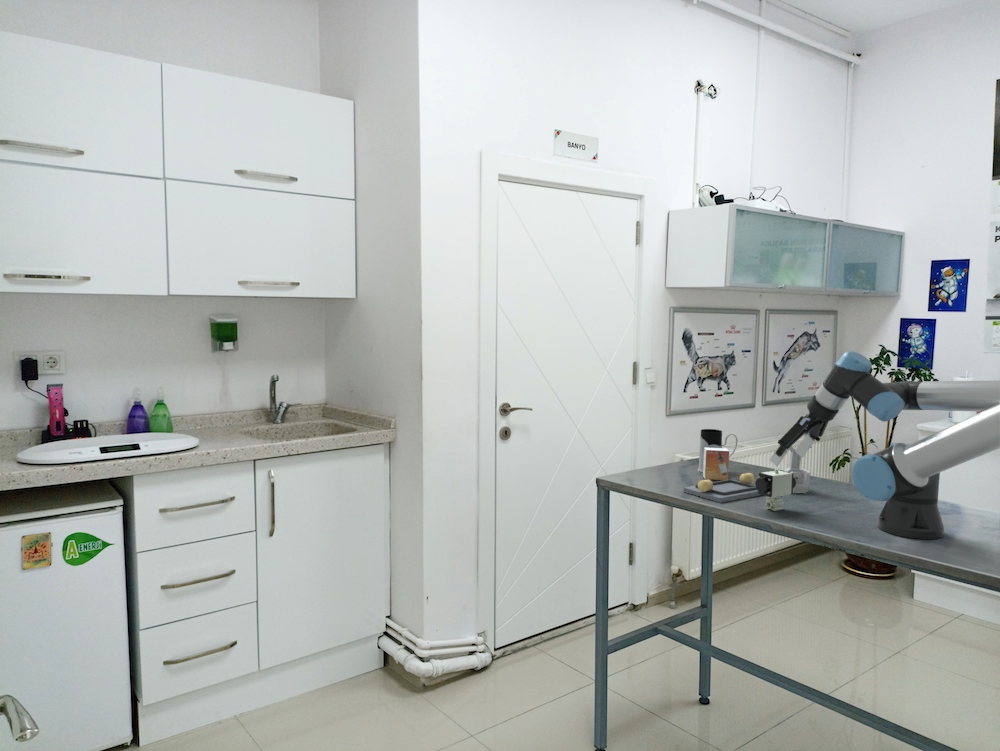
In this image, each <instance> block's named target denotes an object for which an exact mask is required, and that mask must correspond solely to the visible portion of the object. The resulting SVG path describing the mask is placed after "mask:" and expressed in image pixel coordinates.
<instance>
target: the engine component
mask: <svg viewBox="0 0 1000 751" xmlns="http://www.w3.org/2000/svg"><path fill="white" fill-rule="evenodd" d="M806 435H809V433H808V434H804V435H803V436H804V437H805V436H806ZM809 436H810V435H809ZM792 446H793V445H792ZM792 446H791V447H790V448H789V449H790V450H789V451H790V453H789V460H788V467H787V468H785V469H784V470H783V471H786V472H790V473H793V474H794V475H793V476H794V478H795V480H796V486H795V488H793V494H794V493H804V494H807V493H806V492H808V491H809V492H810V474H811V472H810V471H809V470H808V469H804V468H801V462H802V461H801V460H802V457H801V456H800V455H799V454H797V453H796V452H795V450H796V449H797V448H793V447H792ZM811 448H812V446H811V447H810V448H809V449H811ZM777 469H778V471H780V469H779V468H777ZM809 492H808V493H809Z"/></svg>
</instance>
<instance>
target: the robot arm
mask: <svg viewBox="0 0 1000 751" xmlns="http://www.w3.org/2000/svg"><path fill="white" fill-rule="evenodd" d="M871 368H872V362H871V361H870V360H869V358H868V357H866V356H864V355H863V354H862V353H860V352H855V351H849V350H848V351H845V352H844V353H843V354H842V355H841V356H840V358H839V359H838V360H837V361H836V362H835V365H834V366H833V367H832V369H831V371H830V372H829V373H828V375H827V376H826V378H825V379H824V380H823V382H821V383H819V384H818V386H819V387H818V389H817V390H816V392H815V394H814V395H813V396H812V397H811V399H810V400H809V402H807V405H806V407H807V411H808V414H806V415H805V416H800V417H799V418H798V420H797V421H796V422H795V423H794V425H792V426H791V428H790V429H788V431H787V432H786V433H785V434H784V435H783V436H782V437H781V438H780V439H778V441H777V444H778V447H777V448H776V450H774V452H773V454H772V455H771V456H770V458H769V461H770V462H771V463H772V464H773V465H775V467H778V466H779V465H780V464H781V462H782V461H783V460H784V458H785V457H786V456H787V454H788V453H789V451H790V449H789V448H790V447H791V446H793V445H794V444H795V443H797V442H798V441H799V440H800V439H801V438H802V437H803V436H804V434H808V433H809V435H810V436H809V435H806V436H804V438H803V439H802V440H801V442H800V443H799V444H798V446H797V447H796V448H795V449H796V450H795V452H796V453H797V454H799V455H800V456H801V458H804V456H806V454H807V453H808V452H809V450H810V449H811V448H812V446H813V444H814V443H815V441H817V442H819V441H820V440H821V437H822V436H823V435H824V433H825V430H826V428H827V426H828V424H829V422H830V421H832V420H834V419H835V417H836V416H837V414H838V413H839V411H840V410H841V409H842V408H843V406H844V405H845V404H846V403H847V401H848V400H849V398H852V399H853V400H855V401H856V402H857V403H858V404H859V405H860V406H862V407H863V408H864V409H865V410H866V411H867V412H868V413H869V414H870V415H872V416H874V417H875V418H876V419H878V420H879V421H880V422H883V423H884V422H889V421H891V420H893V419H895V418H896V417H898V415H900V413H901V412H902V411H942V412H943V411H945V412H946V411H949V412H978V413H976V414H974V415H972V416H970V417H967V418H965V419H963V420H961V421H958V422H956V423H953V425H950V426H948V427H945V428H944V429H941V430H939V431H936V432H935V433H934V432H933V433H932V434H930V435H928V436H926V437H924V438H922V439H919V440H917V441H915V442H913V443H910V444H909V443H903V442H892V443H891V444H890V446H889V447H886V448H884V449H882V450H879V451H877V452H875V453H868V454H867V453H866V454H864V455H862V456H861V457H859V458H857V460H856V461H855V462H854V463H853V467H852V471H851V476H852V482H853V484H854V487H855V488H856V490H857V491H858V492H859V494H861V495H862V496H863V497H864V498H866V499H868V500H871V501H875V502H885V503H884V504H883V507H882V509H881V512H880V513H879V516H878V519H877V520H878V522H877V527H878V528H879V530H881V531H882V532H883V531H884V532H886V533H888V534H892V535H895V536H900V537H902V538H903V537H904V538H911V539H920V540H921V539H922V540H935V539H936V540H937V539H941V538H943V537H944V534H945V526H944V522H943V520H942V519H943V518H942V516H941V513H940V510H939V506H938V504H939V501H938V500H939V488H940V474H941V473H942V472H945V471H946V470H950V469H953V468H954V467H957V466H959V465H962V464H964V463H967V462H969V461H971V460H974V459H977V458H980V457H981V456H983V455H986V454H988V453H991V452H994V451H996V450H998V449H1000V380H998V379H997V380H935V381H934V380H931V381H930V380H929V381H927V380H926V381H925V380H923V381H919V380H917V381H914V380H903V381H897V382H895V381H893V382H892V381H891V382H882V381H880V380H879V379H877V378H876V377H875V376H874V375H872V373H870V371H871ZM810 447H811V448H810Z"/></svg>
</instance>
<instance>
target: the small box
mask: <svg viewBox="0 0 1000 751" xmlns="http://www.w3.org/2000/svg"><path fill="white" fill-rule="evenodd" d="M729 455H730V450H729V449H728V448H726V447H722V448H707V447H704V465H703V473H702V476H703V479H704V480H708V479H709V480H716V481H723V480H729V468H730V467H729V465H730V457H729Z"/></svg>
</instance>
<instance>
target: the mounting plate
mask: <svg viewBox="0 0 1000 751" xmlns="http://www.w3.org/2000/svg"><path fill="white" fill-rule="evenodd" d="M755 482H756V477H755V476H754V474H753V473H751V472H745V473H742V474H740V475H739V480H735V479H728V480H716V481H712V479H704V480H703V479H702V480H699V481H698V482H697V484H695V485H690V486H684V487H683V493H685V492H686V494H688V493H689V495H692V494H693V495H692V496H695V495H696V497H698V496H700V497H699V498H702V497H703V498H702V499H705V498H706V500H709V499H710V500H709V501H712V500H713V501H712V502H715V501H716V503H718V504H722V502H723V503H727V501H728V502H732V500H733V501H737V500H738V499H739V500H743V499H748V498H754V496H755V497H758V496H762V495H761V494H758V490H757V489H756V486H755V484H754V483H755Z"/></svg>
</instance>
